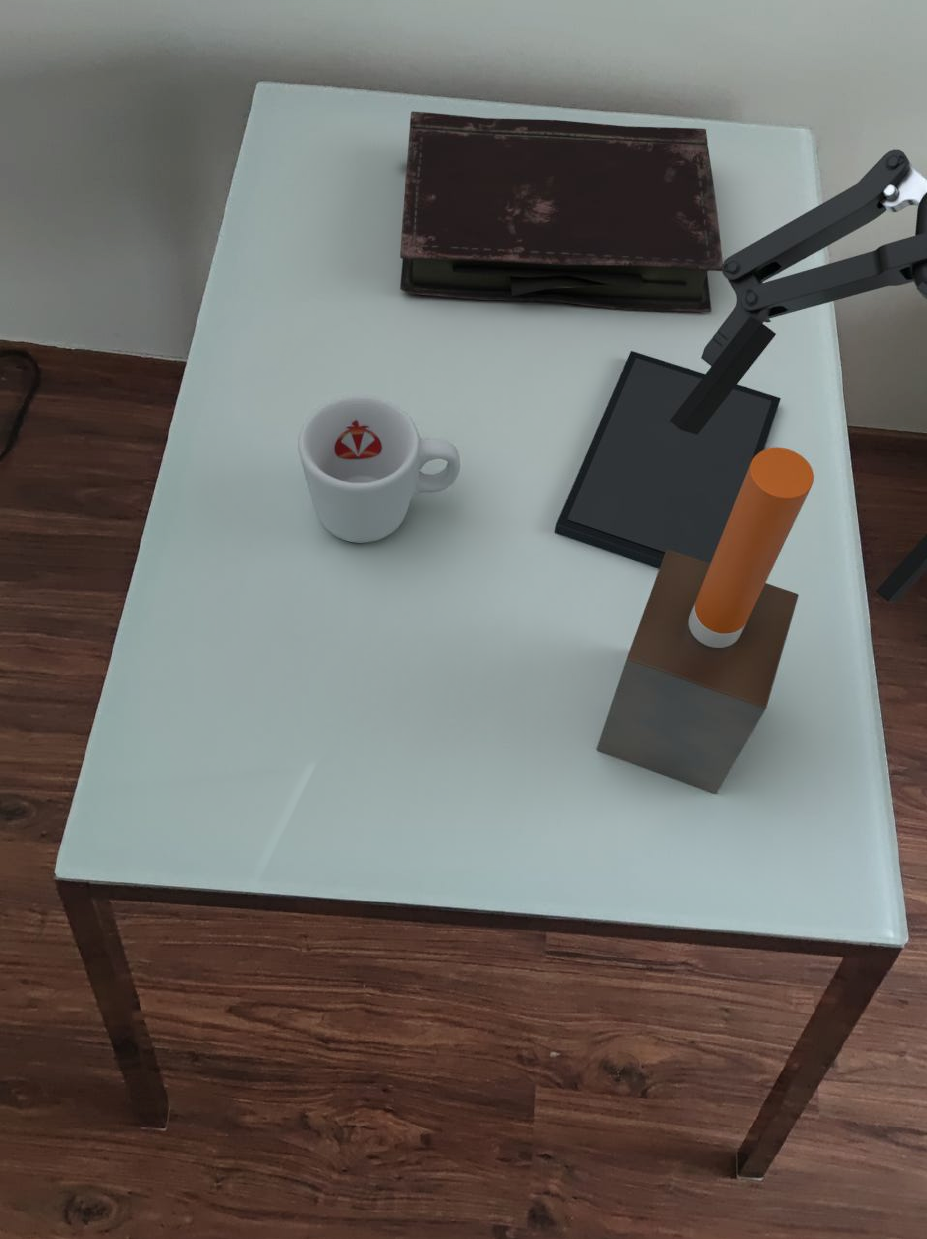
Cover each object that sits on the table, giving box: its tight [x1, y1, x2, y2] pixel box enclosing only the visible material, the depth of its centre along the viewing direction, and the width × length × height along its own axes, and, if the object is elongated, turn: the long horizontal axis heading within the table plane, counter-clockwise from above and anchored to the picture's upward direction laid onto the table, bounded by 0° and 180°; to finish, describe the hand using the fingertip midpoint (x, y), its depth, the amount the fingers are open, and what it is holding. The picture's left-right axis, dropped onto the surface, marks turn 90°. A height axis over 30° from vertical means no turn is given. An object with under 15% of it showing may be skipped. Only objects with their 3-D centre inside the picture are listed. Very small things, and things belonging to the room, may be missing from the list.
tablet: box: [554, 350, 781, 570], centre depth 89 cm, size 12×18×1 cm, turn 159°
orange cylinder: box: [689, 446, 815, 648], centre depth 63 cm, size 3×3×14 cm
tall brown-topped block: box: [596, 550, 800, 795], centre depth 74 cm, size 8×8×12 cm
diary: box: [399, 111, 724, 313], centre depth 100 cm, size 19×25×5 cm
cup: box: [297, 394, 461, 544], centre depth 83 cm, size 11×8×8 cm
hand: (780, 509), depth 62 cm, fingers open, 13 cm apart
